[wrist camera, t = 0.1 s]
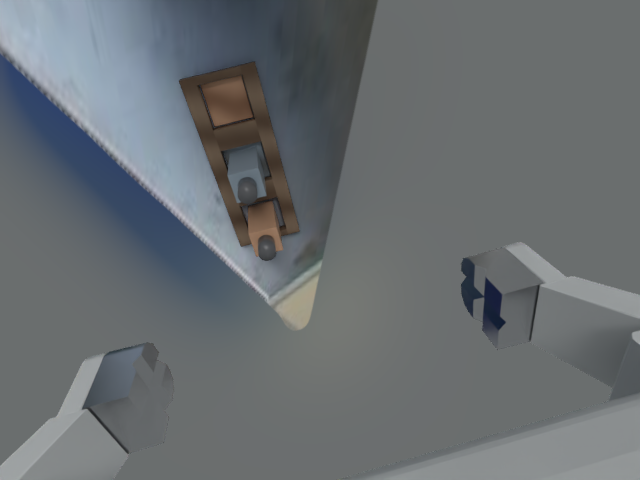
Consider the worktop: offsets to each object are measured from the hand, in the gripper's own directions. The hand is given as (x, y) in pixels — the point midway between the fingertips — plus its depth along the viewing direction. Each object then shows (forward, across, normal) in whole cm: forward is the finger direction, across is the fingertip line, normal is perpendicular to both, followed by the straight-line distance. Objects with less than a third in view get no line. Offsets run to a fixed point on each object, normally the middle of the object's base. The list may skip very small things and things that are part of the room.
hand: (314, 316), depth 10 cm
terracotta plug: (+48, +5, +20) cm, 52 cm away
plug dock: (+48, +5, +11) cm, 50 cm away
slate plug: (+48, +5, +11) cm, 49 cm away
